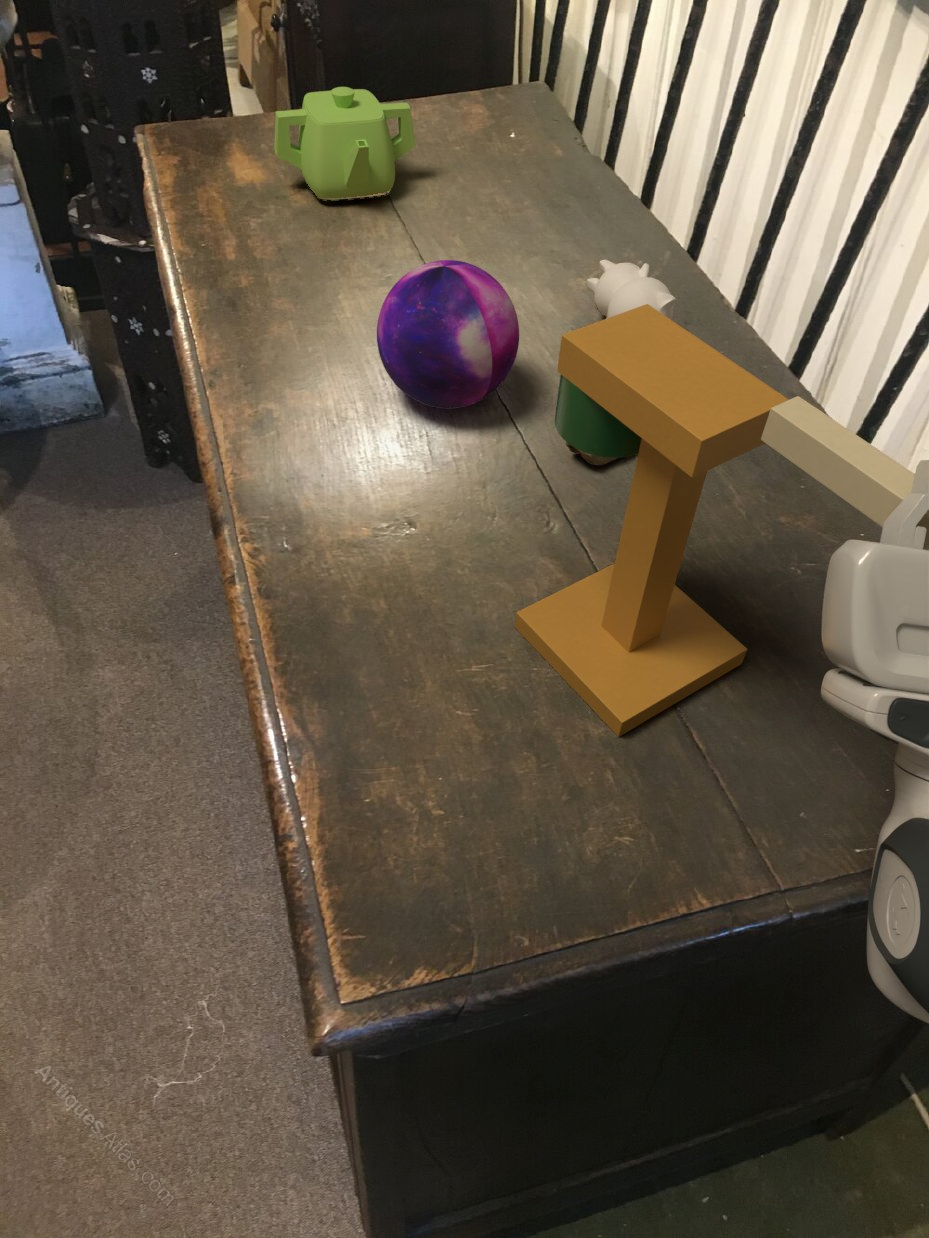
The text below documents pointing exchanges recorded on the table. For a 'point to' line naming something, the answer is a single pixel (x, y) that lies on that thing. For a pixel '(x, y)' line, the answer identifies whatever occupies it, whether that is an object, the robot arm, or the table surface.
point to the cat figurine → (629, 290)
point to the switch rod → (840, 460)
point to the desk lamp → (646, 511)
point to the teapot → (345, 142)
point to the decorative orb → (448, 334)
